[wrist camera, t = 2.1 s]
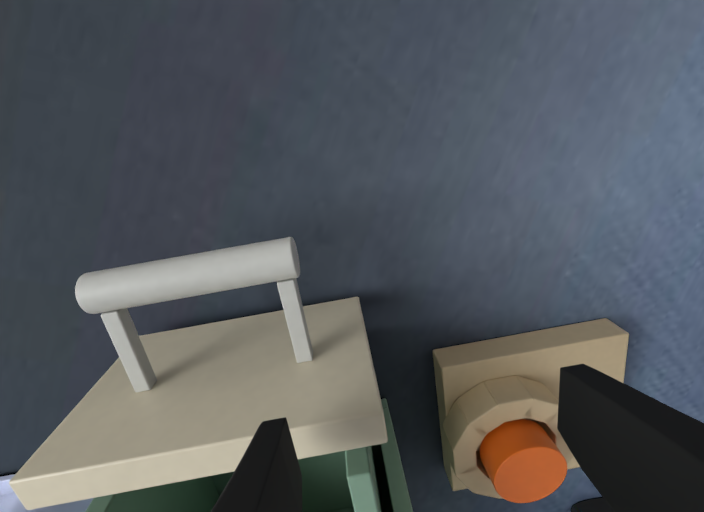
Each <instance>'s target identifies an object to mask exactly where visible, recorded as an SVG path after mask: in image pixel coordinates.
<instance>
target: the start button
mask: <svg viewBox="0 0 704 512" xmlns="http://www.w3.org/2000/svg"><path fill="white" fill-rule="evenodd" d="M480 458H481V461H482V463H483V465H484V467H485V469H486V471H487V473H488V475H489V478H490V480H491V482H492V484H493V486H494V488H495V490H496V492H497V493H498V494H499V495H500V496H501V497H502V498H504V499H505V500H508V501H510V502H514V503H529V502H534V501H537V500H540V499H542V498H545V497H546V496H548V495H550V494H551V493H553V492H554V491H555V490H556V489H557V488H558V487H559V486H560V485H561V484H562V482H563V481H564V479H565V477H566V474H567V462H566V459H565V457H564V456H563V455H562V453H561V452H560V450H559V449H558V448H557V446H556V445H555V444H554V442H553V441H552V440H551V438H550V437H549V435H548V434H547V433H546V431H545V430H544V429H543V428H542V427H541V426H540V425H539V424H537V423H536V422H533V421H531V420H526V419H519V420H513V421H508V422H504V423H503V424H501V425H500V426H498V427H497V428H495V429H494V430H492V431H491V432H489V433H488V434H487V435H486V436H485V438H484V439H483V441H482V443H481V446H480Z"/></svg>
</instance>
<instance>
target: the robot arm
mask: <svg viewBox="0 0 704 512" xmlns="http://www.w3.org/2000/svg"><path fill="white" fill-rule="evenodd" d="M557 429H558V431H559V432H560V434H561V436H562V438H563V439H564V441H565V443H566V444H567V446H568V448H569V449H570V451H571V453H572V454H573V456H574V457H575V459H576V461H577V462H578V464H579V465H580V467H581V469H582V470H583V471H584V473H585V474H586V475H587V477H588V478H589V479H590V481H591V482H592V483H593V485H594V486H595V487H596V489H597V490H598V491H599V492H600V494H601V495H602V496H603V498H604V499H605V500H606V502H607V503H608V504H609V506H610V507H611V508H612V509H613V511H614V512H704V423H702V422H700V421H698V420H696V419H694V418H692V417H690V416H687V415H685V414H683V413H681V412H679V411H677V410H675V409H673V408H671V407H669V406H667V405H665V404H663V403H661V402H659V401H657V400H655V399H653V398H651V397H649V396H647V395H645V394H643V393H642V392H640V391H638V390H636V389H634V388H632V387H630V386H628V385H626V384H624V383H622V382H620V381H618V380H616V379H614V378H612V377H610V376H608V375H606V374H604V373H602V372H600V371H598V370H596V369H594V368H592V367H590V366H587V365H585V364H578V365H573V366H567V367H561V368H560V383H559V403H558V423H557ZM14 475H15V474H12V475H7V476H2V477H0V512H85V511H86V510H87V508H88V506H89V505H90V503H91V502H92V500H93V498H91V499H86V500H80V501H75V502H70V503H64V504H59V505H54V506H48V507H43V508H38V509H33V510H26V509H25V507H24V506H23V504H22V503H21V501H20V500H19V498H18V497H17V495H16V494H15V492H14V491H13V489H12V488H11V486H10V485H9V481H10V480H11V479H12V478H13V477H14ZM211 512H302V474H301V470H300V466H299V463H298V459H297V455H296V452H295V448H294V444H293V441H292V437H291V433H290V430H289V426H288V422H287V419H286V417H284V418H279V419H273V420H268V421H263V422H262V423H261V424H260V425H259V427H258V429H257V431H256V433H255V435H254V437H253V438H252V440H251V442H250V444H249V446H248V448H247V450H246V451H245V453H244V455H243V457H242V459H241V461H240V462H239V464H238V466H237V468H236V470H235V471H234V473H233V475H232V477H231V478H230V480H229V482H228V483H227V485H226V487H225V488H224V490H223V492H222V493H221V495H220V497H219V499H218V500H217V502H216V504H215V505H214V507H213V509H212V510H211Z"/></svg>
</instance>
